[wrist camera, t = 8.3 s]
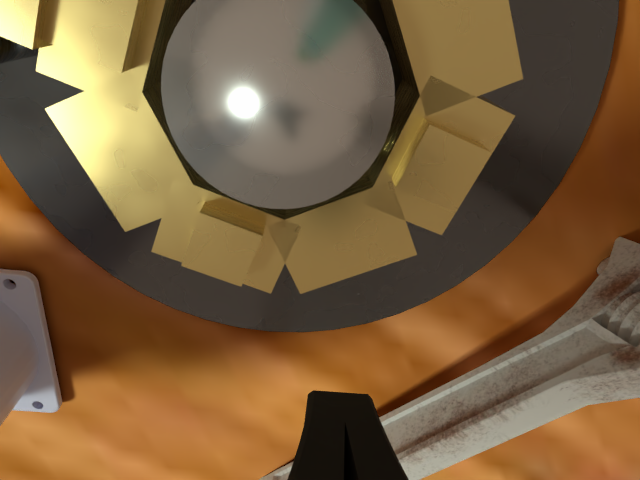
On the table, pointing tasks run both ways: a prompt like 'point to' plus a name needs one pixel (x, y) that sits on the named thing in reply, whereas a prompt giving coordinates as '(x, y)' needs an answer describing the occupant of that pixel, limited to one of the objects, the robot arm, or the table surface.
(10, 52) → the stop pin
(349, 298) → the cap base
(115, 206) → the golden segmented ring
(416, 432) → the wrench
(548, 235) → the table surface
